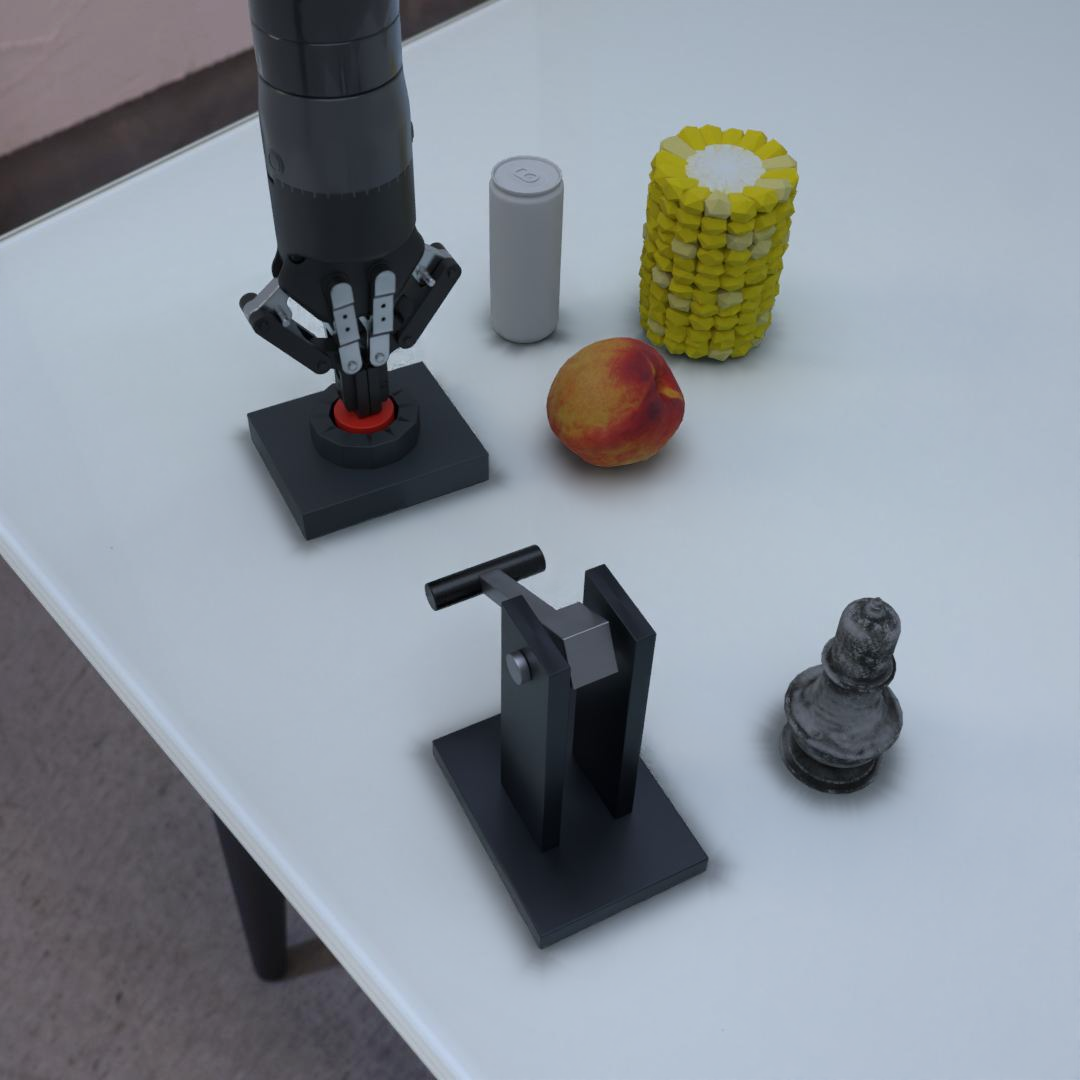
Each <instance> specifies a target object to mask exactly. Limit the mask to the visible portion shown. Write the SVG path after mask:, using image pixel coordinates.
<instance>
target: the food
mask: <svg viewBox="0 0 1080 1080" xmlns="http://www.w3.org/2000/svg"><path fill="white" fill-rule="evenodd" d="M650 167H651V171H650V172H649V173H648V177H649V179H650V182H649V183H648V185H647V193H648V194H647V196H646V209H645V214H646V215H645V219H646V222H645V223H643V224H642V239H643V241H642V243H643V245H642V250H641V254H640V256H639V260H640V267H639V271H638V276H639V277H640V281H639V284H638V287H639V300H638V304H639V305H638V310H639V314H640V321H639V325H638V326H639V327H640V328H642V329H643V330H645V331H646V338H647V339H648V340H649V341H650V342H651V344H652V346H655V347H659V348H661V347H663V346H665V348H666V349H667V351H668V352H669V354H671V355H682V354H685V355H686V356H688V357H689V359H690V358H691V359H694V360H697V359H700V358H702V357H706V356H707V358H710V359H713V360H717V361H720V362H725V361H726V360H727V359H728V357H731V358H739V357H744V356H746V354H747V353H748V352H749V351H750V349H751V348H756V347H758V346H759V345H760V343H761V342H762V341H763V340H764V339H765V332H766V331H767V330H768V329H769V327H770V326H771V324H772V321H771V320H772V310H773V309H774V307H775V303H776V297H777V296H778V295H780V282H779V281H780V277H781V274H782V271H783V270H784V261H783V256H784V255H785V253H786V251H787V250H788V248H789V246H790V245H789V242H790V236H791V235H790V234H791V230H790V229H791V227H792V223H793V221H792V218H791V217H792V216H793V215H794V214H795V213H796V211H795V205H794V200H795V198H796V196H797V193H798V190H797V188H798V184H799V179H800V176H799V173H798V161H797V160H796V159H794V157H792V156H791V155H790V154H788V150H787V149H786V147H784V146H783V145H782V144H781V143H780V142H779V141H777V140H776V139H775V138H772V139H770V140H769V141H768V137H767V136H766V134H765V132H763V131H760V130H755V129H749V128H748V129H747V130H746V131H745V132H744V130H743V129H739V128H734V127H731V128H727V129H726V130H723V131H722V128H721V127H719V126H715V125H712V124H708V123H706V124H704V125H703V126H701V127H700V128H699V127H698V126H692V125H685V126H684V127H683V128H682V129H681V130H680V131H679V132H678V133H677V134H676V135H674V136H668V137H666V138H664V139H663V140H660V143H659V151H657V152H656V153H655V154H654V157H652V160H651V161H650Z"/></svg>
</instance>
